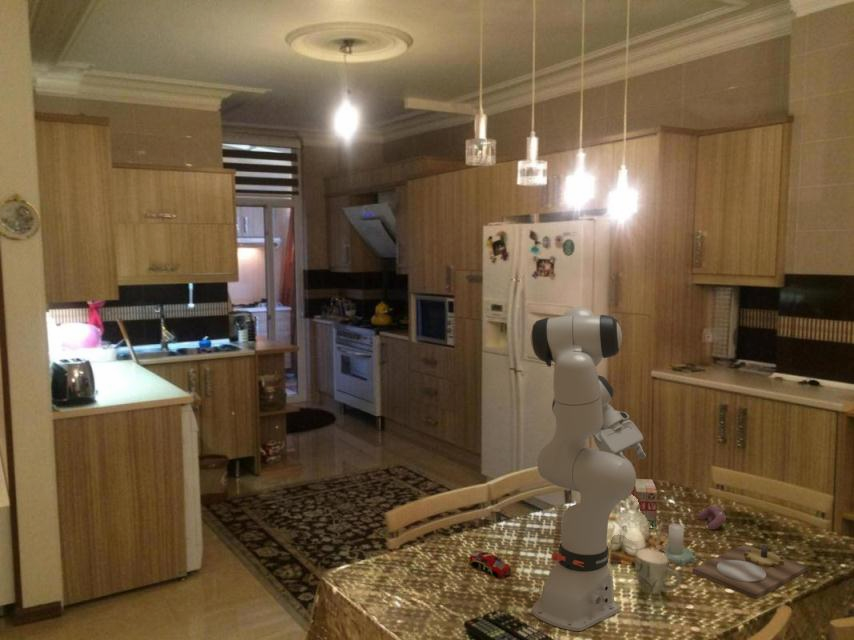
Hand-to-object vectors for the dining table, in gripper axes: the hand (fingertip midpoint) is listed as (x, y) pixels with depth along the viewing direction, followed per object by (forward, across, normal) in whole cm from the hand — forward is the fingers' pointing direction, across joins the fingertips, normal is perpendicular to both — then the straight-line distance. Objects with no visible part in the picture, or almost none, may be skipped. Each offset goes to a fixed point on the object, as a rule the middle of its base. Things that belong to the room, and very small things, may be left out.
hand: (636, 461), depth 205 cm
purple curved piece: (+26, +30, +10) cm, 42 cm away
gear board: (+40, +4, -4) cm, 40 cm away
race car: (+2, -41, +35) cm, 53 cm away
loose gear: (+27, 0, +9) cm, 28 cm away
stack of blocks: (+13, +23, +24) cm, 36 cm away
